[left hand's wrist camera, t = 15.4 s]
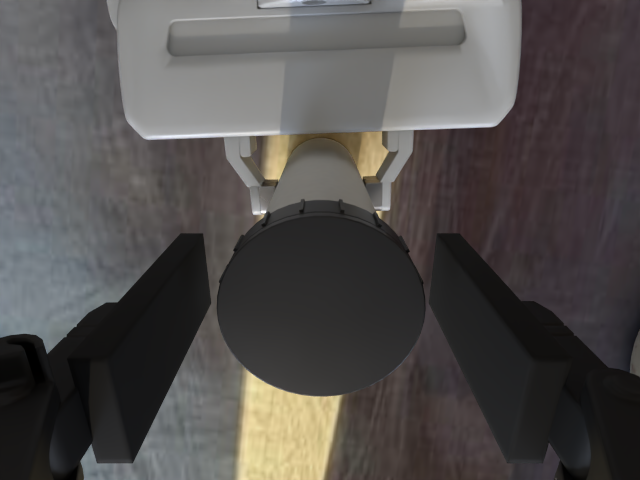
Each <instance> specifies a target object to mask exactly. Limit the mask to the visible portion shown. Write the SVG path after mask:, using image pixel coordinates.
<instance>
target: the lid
mask: <svg viewBox="0 0 640 480" xmlns="http://www.w3.org/2000/svg"><path fill="white" fill-rule="evenodd" d="M233 251H235V252H234V254H233V256H232V258H231V260H230V262H229V264H228V265H227V266H226V268H225V270H224V272H223V274H222V276H221V278H220V280H219V283H220V286H219V290H218V295H217V315H218V322H219V326H220V330H221V333H222V335H223V337H224V340H225V342H226V344H227V346H228V347H229V349H230V351H231V352H232V354H233V355H234V356H235V357H236V359H237V360H238V361H239V362H240V363H241V364H242V365H243V366H244V367H245V368H246V369H247V370H248V371H249V372H251V373H252V374H253V375H254V376H256V377H257V378H259V379H260V380H262V381H264V382H265V383H267V384H269V385H272V386H274V387H276V388H278V389H281V390H284V391H287V392H291V393H295V394H300V395H307V396H336V395H342V394H347V393H352V392H355V391H358V390H361V389H364V388H366V387H368V386H371V385H373V384H375V383H377V382H378V381H380V380H382V379H384V378H385V377H386V376H388V375H389V374H390V373H392V372H393V371H394V370H395V369H396V368H397V367H398V366H400V365H401V364H402V363H403V361H404V360H405V359H406V358H407V356H408V355H409V354H410V353H411V351H412V349H413V348H414V346H415V344H416V342H417V340H418V338H419V336H420V333H421V330H422V326H423V323H424V317H425V294H424V289H423V285H422V284H423V280H422V278H421V276H420V275H419V273H418V271H417V269H416V267H415V265H414V264H413V262H412V260H411V258H410V256H409V254H408V253H409V252H410V251H409V249H408V247H407V245H406V243H405V241H404V240H403V238H402V236H399V237H398V236H397V234H396V233H395V232H394V231H393V230H392V229H391V228H390V227H389V226H388V225H387V224H386V223H385V222H384V221H382V220H381V219H380V218H379V217H378V214H377V213H375V212H374V213H373V214H372V213H370V212H369V211H367V210H365V209H362V208H360V207H357V206H355V205H352V204H348V203H344V202H343V200H342V199H339V201H332V200H311V201H305V199H301V202H298V203H294V204H290V205H287V206H285V207H282V208H280V209H277V210H276V211H274V212H272V213H270V212H269V211H268V212H267V213H266V214H265V217H264V218H262V219H261V220H260V221H258V222H257V223H256V224H255V225H254V226H253V227H252V228H251V229H250V230H249V231H248V232H247V233H246V235H245V236H244V235H241V237H240V238H239V240H238V242H237V244H236V246H235V248H234V250H233Z"/></svg>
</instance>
